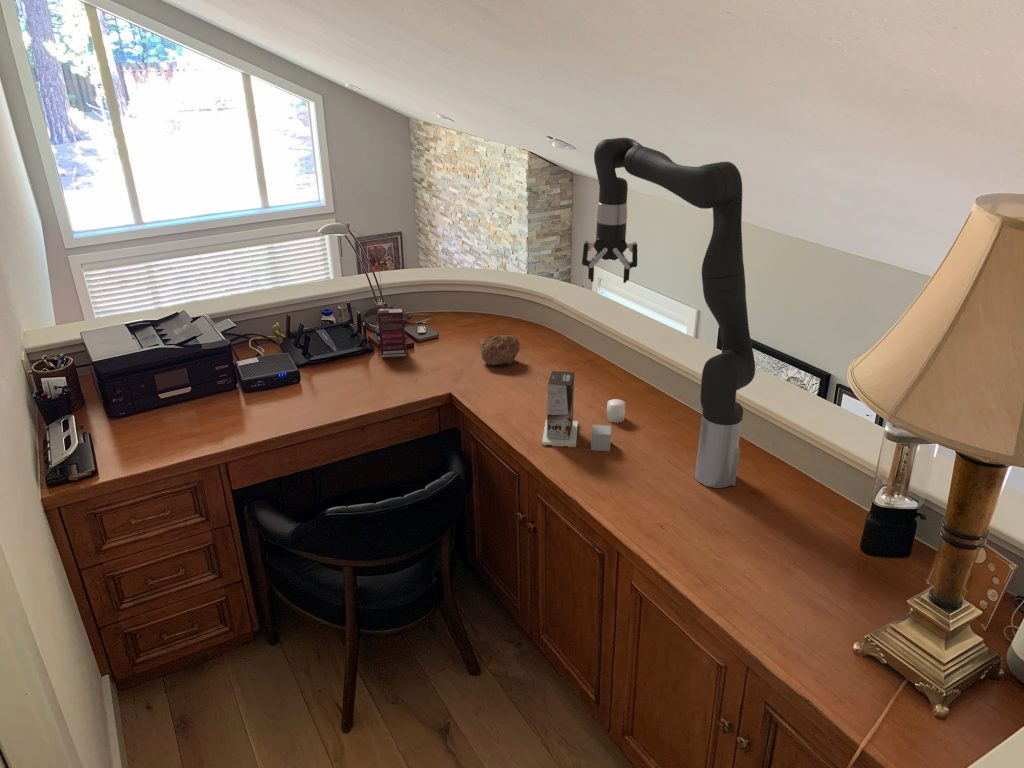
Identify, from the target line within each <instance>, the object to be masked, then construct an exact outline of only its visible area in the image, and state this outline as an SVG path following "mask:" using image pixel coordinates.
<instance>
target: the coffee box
mask: <svg viewBox="0 0 1024 768" xmlns="http://www.w3.org/2000/svg"><path fill="white" fill-rule="evenodd" d="M574 394H575V371H561V370H560V371H557V370H551V374H550V376H549V379H548V384H547V410H546V411H547V413H546V417H547V418H546V419H547V438H554V439H565V440H569V438H570V434H571V430H572V426H573V421H574V402H575V401H574V400H575V399H574Z"/></svg>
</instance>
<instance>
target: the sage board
mask: <svg viewBox="0 0 1024 768" xmlns="http://www.w3.org/2000/svg"><path fill="white" fill-rule="evenodd" d="M544 422H545V423H544V429H543V435H542V441H541V445H542V446H546V445H552V447H563V446H568V447H567V448H576V447H577V438H578V437H577V436H578V428H577V427H579V425H578V424H579V421H578V420H573V426H572V430H571V434H570V438H569V440H565V439H554V438H547V418H546V419H545V421H544Z"/></svg>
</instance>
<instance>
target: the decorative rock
mask: <svg viewBox="0 0 1024 768" xmlns="http://www.w3.org/2000/svg"><path fill="white" fill-rule="evenodd" d="M478 346H479V349H480V350H481V354H480V355H481V360H483V361H484V362H485V363H486V364H487V365H489V366H502V365H505V364H506V365H511V364H512V363H513V362H514V360H515V358H516V357H517V355H518V353H520V349H521V348H520V341H519V340H518V338H517V337H516V336H514V335H509V334H507V335H505V334H504V335H490V336H487V337H485V338H482V339H481V340H480V341H479V345H478Z"/></svg>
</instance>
